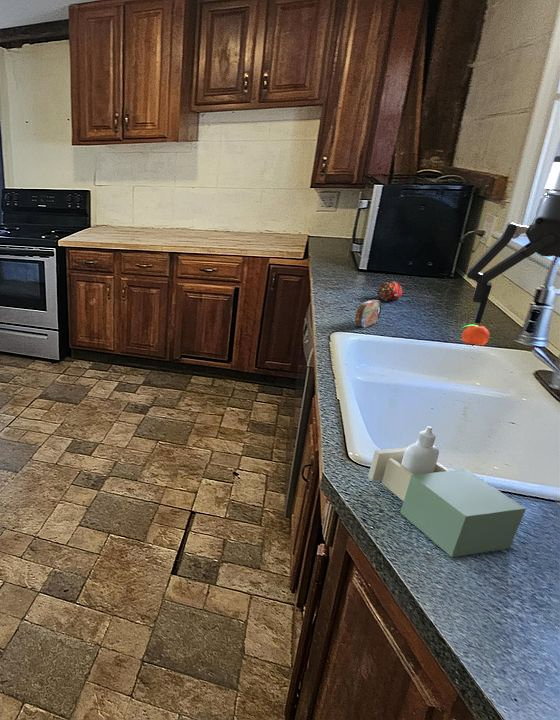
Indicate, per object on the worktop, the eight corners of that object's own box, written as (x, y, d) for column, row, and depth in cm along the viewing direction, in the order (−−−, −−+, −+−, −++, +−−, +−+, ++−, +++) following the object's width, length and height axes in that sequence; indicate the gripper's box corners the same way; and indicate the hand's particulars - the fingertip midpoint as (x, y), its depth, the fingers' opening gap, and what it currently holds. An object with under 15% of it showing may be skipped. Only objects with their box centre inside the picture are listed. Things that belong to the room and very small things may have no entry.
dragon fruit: (381, 306, 212) (386, 304, 221) (403, 297, 207) (408, 296, 216) (371, 287, 213) (378, 286, 222) (394, 278, 208) (399, 277, 217)
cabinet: (400, 512, 90) (411, 475, 88) (453, 505, 92) (466, 468, 89) (451, 557, 81) (466, 516, 78) (509, 548, 83) (526, 508, 80)
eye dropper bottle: (391, 476, 97) (407, 418, 92) (425, 481, 96) (443, 423, 91) (398, 490, 93) (415, 431, 88) (433, 495, 92) (453, 435, 87)
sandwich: (360, 329, 180) (365, 306, 177) (351, 327, 183) (356, 304, 179) (379, 321, 189) (384, 298, 186) (370, 319, 192) (375, 296, 188)
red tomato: (456, 347, 166) (462, 325, 163) (454, 340, 171) (460, 319, 169) (486, 351, 162) (494, 330, 160) (484, 345, 168) (491, 323, 165)
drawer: (363, 473, 100) (370, 446, 97) (407, 468, 101) (414, 442, 99) (406, 509, 90) (414, 480, 88) (453, 503, 92) (463, 474, 89)
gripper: (473, 190, 82) (437, 320, 90) (704, 201, 69) (637, 352, 77) (473, 187, 88) (438, 310, 96) (686, 197, 75) (625, 337, 83)
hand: (527, 329), depth 86 cm, fingers open, 13 cm apart
